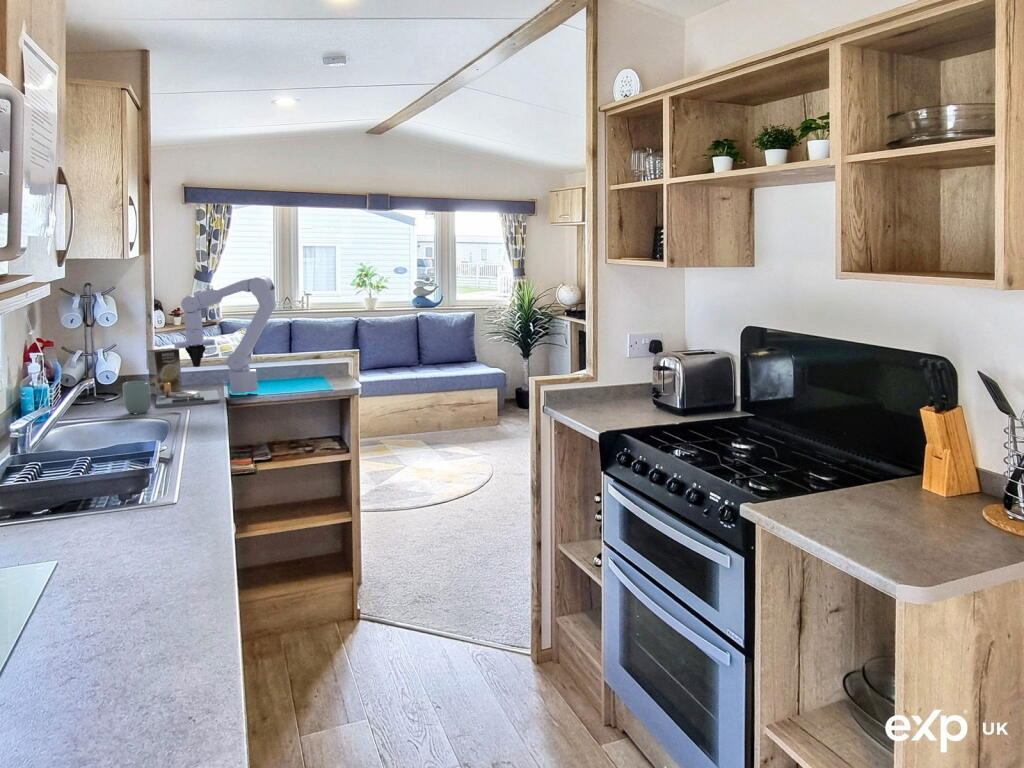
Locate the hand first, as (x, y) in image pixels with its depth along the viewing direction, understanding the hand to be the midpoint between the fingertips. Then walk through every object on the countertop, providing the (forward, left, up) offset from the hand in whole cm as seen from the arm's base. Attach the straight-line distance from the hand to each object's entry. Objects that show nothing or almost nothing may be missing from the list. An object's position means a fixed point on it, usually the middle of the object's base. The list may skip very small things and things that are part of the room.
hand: (196, 366), depth 267 cm
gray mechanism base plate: (+4, +9, -10) cm, 14 cm away
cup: (+19, +24, -11) cm, 32 cm away
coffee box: (+11, -9, -11) cm, 18 cm away
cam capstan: (+6, +8, -9) cm, 13 cm away
